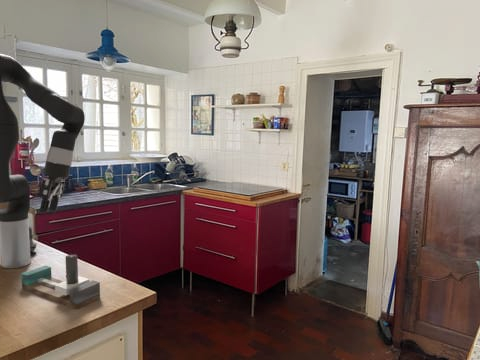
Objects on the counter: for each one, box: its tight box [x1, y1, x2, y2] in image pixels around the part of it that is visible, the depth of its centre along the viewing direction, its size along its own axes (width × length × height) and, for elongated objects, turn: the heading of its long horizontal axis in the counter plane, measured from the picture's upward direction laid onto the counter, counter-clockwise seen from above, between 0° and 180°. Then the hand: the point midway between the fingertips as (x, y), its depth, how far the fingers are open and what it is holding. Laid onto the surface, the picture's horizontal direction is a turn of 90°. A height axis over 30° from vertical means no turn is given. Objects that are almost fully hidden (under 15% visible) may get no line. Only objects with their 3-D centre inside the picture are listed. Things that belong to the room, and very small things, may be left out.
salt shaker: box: [29, 226, 37, 257], centre depth 145 cm, size 6×6×12 cm
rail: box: [20, 265, 101, 310], centre depth 112 cm, size 26×8×5 cm, turn 62°
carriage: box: [55, 254, 90, 295], centre depth 108 cm, size 5×8×10 cm, turn 152°
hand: (48, 211), depth 119 cm, fingers open, 8 cm apart
